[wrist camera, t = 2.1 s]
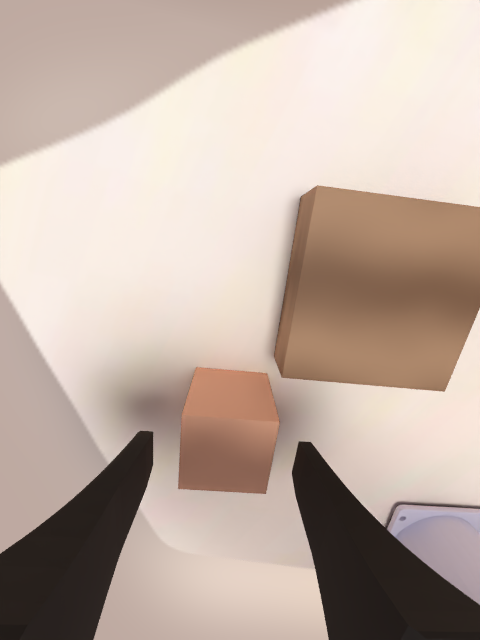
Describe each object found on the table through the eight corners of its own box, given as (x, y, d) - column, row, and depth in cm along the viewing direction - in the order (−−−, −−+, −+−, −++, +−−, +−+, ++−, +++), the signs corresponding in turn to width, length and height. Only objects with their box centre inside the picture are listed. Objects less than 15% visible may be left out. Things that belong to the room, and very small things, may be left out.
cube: (257, 429, 17) (265, 493, 12) (192, 425, 17) (178, 488, 12) (267, 372, 15) (279, 422, 11) (196, 366, 15) (181, 414, 11)
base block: (412, 368, 15) (444, 391, 13) (274, 356, 15) (281, 377, 13) (466, 218, 13) (519, 212, 10) (301, 196, 12) (317, 185, 10)
